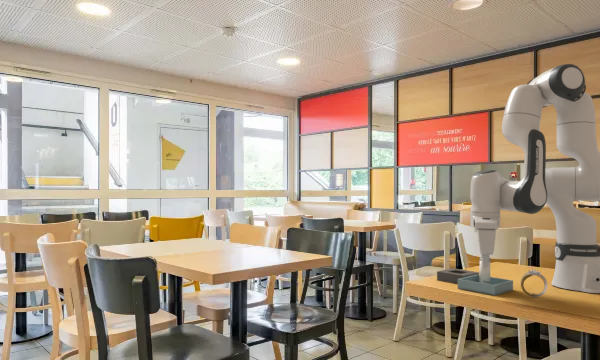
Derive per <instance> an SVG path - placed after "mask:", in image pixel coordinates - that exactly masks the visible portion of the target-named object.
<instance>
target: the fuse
mask: <svg viewBox="0 0 600 360" xmlns="http://www.w3.org/2000/svg"><path fill="white" fill-rule="evenodd" d="M491 260H492V259H491V257H489V266H488V267H484V266H483V260H482V256H480V257H479V266H478V267H479V271H478V272H479V283H485V284H490V277H491V263H492V262H491Z"/></svg>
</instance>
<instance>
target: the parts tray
mask: <svg viewBox="0 0 600 360" xmlns="http://www.w3.org/2000/svg"><path fill="white" fill-rule="evenodd" d="M457 289H458V290H463V291H468V292H472V291H473V293H478V292H479V293H478V294H483V293H484V294H483V295H488V294H489V296H493V295H494V296H495V297H496V296H498V295H501V294H502V295H503V294H505V293H508V292H512V291H513V290H514V280H513V279H506V278H502V277H501V278H500V277H493V276H490V284H485V283H479V275H473V276H469V277H465V278H461V279H458V284H457ZM494 296H493V297H494Z"/></svg>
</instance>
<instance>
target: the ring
mask: <svg viewBox="0 0 600 360" xmlns="http://www.w3.org/2000/svg"><path fill="white" fill-rule="evenodd" d="M541 272H542V271H540V270H537V269H531V270H530V269H529V270H528V271H527V272H526V273H524V274H523V275H522V276H521V278H520V287H521V290H522V291H523V292H524V294H526V295H527V296H530V297H532V298H534V297H535V298H538V297H541V296H543V295H544V294H545V293H546V292H547V289H548V280H547V279H546V277H545V276H544V275H543V274H541ZM533 276H534V277H535V276H536V277H538V278H540V279H541V280H542V283H543V290H542V291H541V292H539V293H534V292H532V293H530V292H529V291H527V290H526V289H525V286H524V284H525V282H526V280H527V279H528V278H530V277H533Z"/></svg>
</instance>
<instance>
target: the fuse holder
mask: <svg viewBox="0 0 600 360" xmlns="http://www.w3.org/2000/svg"><path fill="white" fill-rule="evenodd" d="M473 275H479V271H474V270H473V271H472V270H467V269H461V268H460V269H459V268H454V267H452V268H448V269H447V268H446V269H442V270H438V271H436V280H437V281H440V282H444V283H445V282H446V283H452V284H457V285H458V279H461V278H465V277H469V276H473Z"/></svg>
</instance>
